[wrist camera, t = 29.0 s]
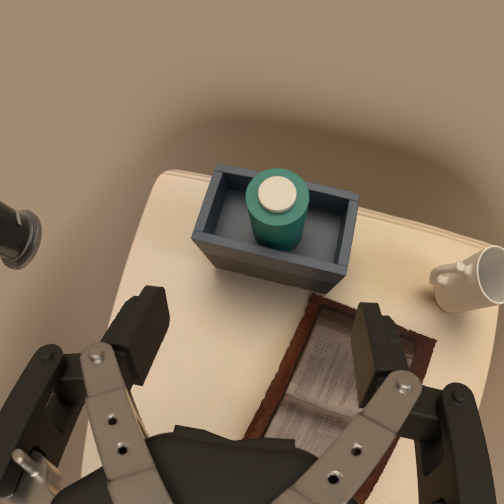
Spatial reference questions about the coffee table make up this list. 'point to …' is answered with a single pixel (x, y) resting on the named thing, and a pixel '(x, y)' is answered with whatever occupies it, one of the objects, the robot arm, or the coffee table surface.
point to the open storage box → (267, 259)
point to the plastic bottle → (277, 208)
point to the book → (325, 384)
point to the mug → (471, 281)
